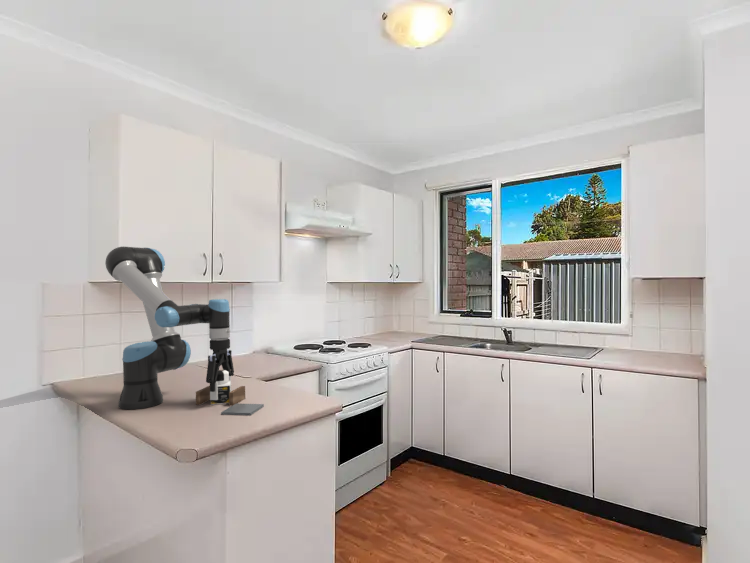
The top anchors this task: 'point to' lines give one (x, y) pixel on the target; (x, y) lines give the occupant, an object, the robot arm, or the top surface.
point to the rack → (234, 395)
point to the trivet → (242, 409)
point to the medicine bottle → (222, 388)
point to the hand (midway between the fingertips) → (221, 396)
